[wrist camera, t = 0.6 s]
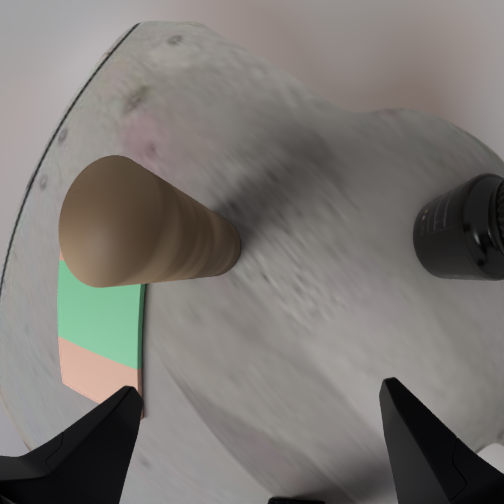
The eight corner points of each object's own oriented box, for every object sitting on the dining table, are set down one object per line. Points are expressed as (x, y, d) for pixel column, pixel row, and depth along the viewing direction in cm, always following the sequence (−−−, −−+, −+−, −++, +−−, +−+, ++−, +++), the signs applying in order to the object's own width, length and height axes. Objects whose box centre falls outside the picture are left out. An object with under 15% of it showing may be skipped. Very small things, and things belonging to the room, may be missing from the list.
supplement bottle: (478, 230, 19) (566, 209, 7) (449, 292, 19) (543, 308, 7) (429, 185, 20) (509, 130, 8) (396, 248, 20) (484, 230, 8)
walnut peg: (236, 280, 22) (144, 300, 8) (180, 271, 23) (53, 275, 9) (244, 219, 22) (166, 151, 8) (188, 214, 23) (72, 160, 9)
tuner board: (143, 418, 23) (139, 421, 22) (66, 381, 25) (62, 383, 24) (155, 206, 24) (150, 205, 23) (72, 203, 26) (67, 202, 25)
